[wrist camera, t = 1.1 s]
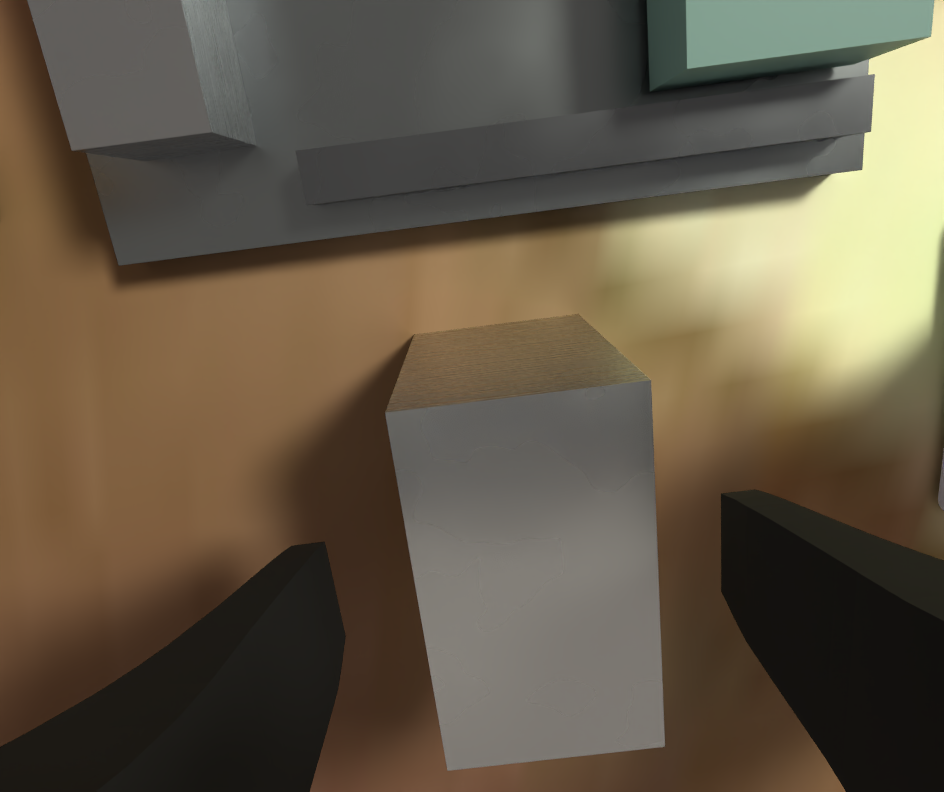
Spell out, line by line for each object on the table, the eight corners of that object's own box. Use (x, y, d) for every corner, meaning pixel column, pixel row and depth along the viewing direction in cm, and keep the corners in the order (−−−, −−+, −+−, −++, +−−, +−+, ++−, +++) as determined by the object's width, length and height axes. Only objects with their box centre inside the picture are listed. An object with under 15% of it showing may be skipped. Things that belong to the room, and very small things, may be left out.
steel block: (577, 313, 15) (650, 380, 9) (595, 563, 17) (665, 746, 11) (414, 334, 15) (384, 412, 9) (452, 580, 17) (447, 770, 11)
